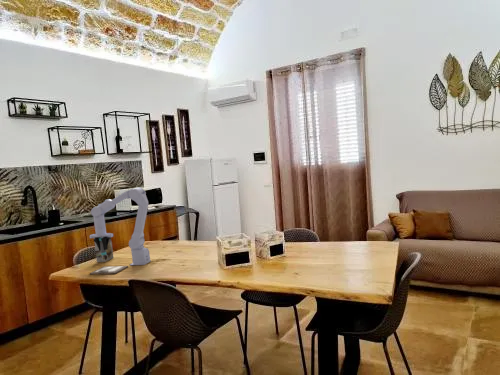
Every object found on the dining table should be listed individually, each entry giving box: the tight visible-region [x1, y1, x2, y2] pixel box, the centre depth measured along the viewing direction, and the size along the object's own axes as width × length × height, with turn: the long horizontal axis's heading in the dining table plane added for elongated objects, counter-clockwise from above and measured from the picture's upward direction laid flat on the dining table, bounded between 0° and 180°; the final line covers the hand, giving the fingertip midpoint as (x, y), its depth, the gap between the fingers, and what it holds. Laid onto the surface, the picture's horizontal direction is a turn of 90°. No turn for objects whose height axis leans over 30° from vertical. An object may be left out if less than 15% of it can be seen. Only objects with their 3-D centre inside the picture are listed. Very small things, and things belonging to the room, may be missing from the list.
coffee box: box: [93, 236, 114, 263], centre depth 233 cm, size 9×6×16 cm
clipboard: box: [89, 265, 129, 275], centre depth 207 cm, size 16×12×2 cm
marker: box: [99, 238, 106, 255], centre depth 217 cm, size 3×3×10 cm
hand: (103, 249), depth 217 cm, fingers closed on marker, 3 cm apart
